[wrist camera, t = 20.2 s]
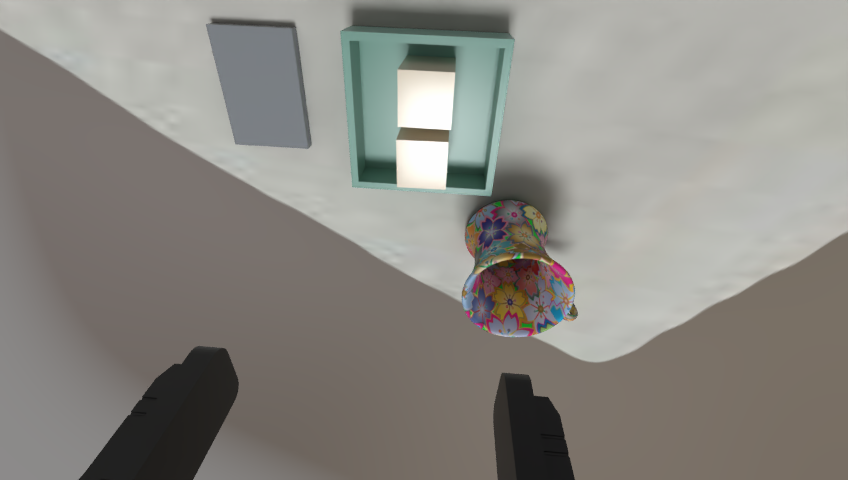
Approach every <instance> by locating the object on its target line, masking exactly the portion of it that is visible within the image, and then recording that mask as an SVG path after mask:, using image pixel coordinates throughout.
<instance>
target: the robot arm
mask: <svg viewBox="0 0 848 480" xmlns="http://www.w3.org/2000/svg"><path fill="white" fill-rule="evenodd" d="M238 385H239V382H238V378H237V375H236V372H235V370H234V367H233V365H232V362H231V359H230V357H229V354H228V352H227V350H226V349H224V348H215V347H203V346H198V347H195V348H194V349H193V350H192V351H191V352H190V353H189V355H188V356H187V357H186V359H185V360H184V362H183V363H182V364H174V365H172V366H171V367H170V368H169V369H167V370H166V371H165V372H164V373H162V374H161V375H160V376H159V377H158V378H156V379H155V380H154V382H153V383H152V385H151V386H150V387H149V388H148V390H147V391H146V392H145V394H144V395H143V396H142V397H143V398H142V400H140V401H139V402H138V403H137V404H136V406H135V407H134V408H133V410H132V411H131V415H128V416H127V418H126V419H125V420H124V422H123V423H122V424H121V425H120V427H119V428H118V430H117V431H116V432H115V434H114V435H113V436H112V437H111V439H110V440H109V441H108V443H107V444H106V445H105V447H104V448H103V450H102V451H101V452H100V453H99V455H98V456H97V457H96V459H95V460H94V461H93V463H92V464H91V465H90V467H89V468H88V469H87V470H86V472H85V473H84V474H83V475H82V476H81V478H80V479H79V480H193V479H194V477H195V475H196V473H197V471H198V469H199V467H200V466H201V464H202V462H203V460H204V458H205V456H206V454H207V452H208V450H209V449H210V447H211V445H212V443H213V441H214V439H215V437H216V435H217V433H218V432H219V430H220V428H221V426H222V424H223V422H224V420H225V418H226V416H227V415H228V413H229V411H230V409H231V407H232V405H233V403H234V401H235V399H236V396H237V393H238ZM493 419H494V421H493V423H494V437H495V450H496V462H497V474H498V480H575V479H574V475H573V470H572V466H571V462H570V458H569V456H568V448H567V444H566V440H565V439H564V432H563V428H562V423H561V418H560V415H559V413H558V412H557V410H556V409H555V408H554V406H553V404H552V402H551V401H550V400H549V398H548V397H540V396H534V395H533V389H532V384H531V380H530V377H529V375H524V374H511V373H502V374H501V378H500V382H499V386H498V390H497V395H496V399H495V403H494V414H493Z"/></svg>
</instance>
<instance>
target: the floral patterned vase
mask: <svg viewBox="0 0 848 480" xmlns="http://www.w3.org/2000/svg"><path fill="white" fill-rule="evenodd" d="M547 236H548V229H547V224H546V221H545V219H544V217H543V216H542V215H541V214H540V212H539V211H538V210H536V209H535V208H534V207H532V206H531V205H529V204H526V203H524V202H520V201H514V200H504V201H498V202H494V203H491V204H489V205H487V206H485V207H483V208H481V209H480V210H479V211H478V212H477V213H475V214H474V216H473V217H472V218H471V220H470V221H469V223H468V225H467V228H466V232H465V242H466V246H467V248H468V250H469V252H470V254H471V255H472V256H473V257H474V258H475V266H474V269H473V272H472V273H471V274H470V276H469V277H468V279H467V280H466V282H465V284H464V287H463V291H462V304H463V308H464V310H465V312H466V314H467V316H468V317H469V318H470V320H471V321H472V322H473V323H474V324H475V325H477V326H478V327H480V328H481V329H483V330H485V331H487V332H489V333H492V334H495V335H499V336H506V337H525V336H531V335H535V334H538V333H541V332H544V331H546V330H548V329H550V328H552V327H553V326H555V325H556V324H558V323H559V322H560V321H561V320H562V319H564V320H567V321H573V320H574V319H576V318H577V316H578V312H577V309H576V307H575V305H574V304H573V302H574V297H575V288H574V284H573V281H572V279H571V277H570V275H569V274H568V272H567V271H566V270H565V269H564V268H563V267H562V266H561V265H560V264H558V263H557V262H555V261H554V260H552V259H551V258H550V257H549V256H548V254H547V253H546V251H545V248H544V246H545V244H546V241H547ZM568 312H570V314H569V313H568Z"/></svg>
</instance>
